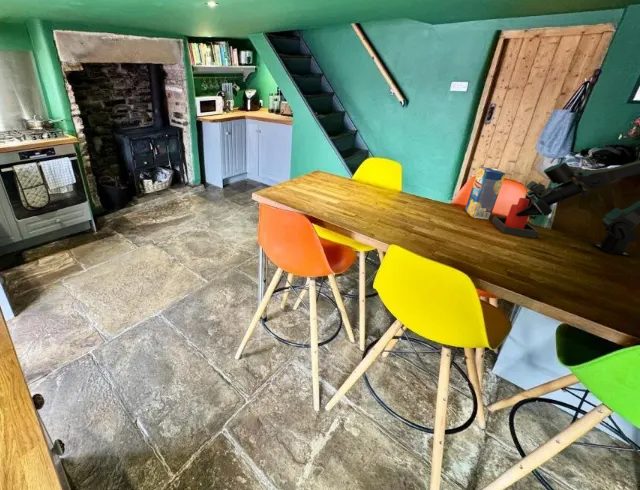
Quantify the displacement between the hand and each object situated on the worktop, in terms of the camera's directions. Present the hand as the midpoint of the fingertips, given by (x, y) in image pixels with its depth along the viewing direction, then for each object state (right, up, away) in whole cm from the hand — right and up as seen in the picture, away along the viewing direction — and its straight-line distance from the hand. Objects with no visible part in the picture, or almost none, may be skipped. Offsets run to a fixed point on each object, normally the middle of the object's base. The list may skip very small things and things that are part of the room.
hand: (514, 212), depth 127 cm
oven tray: (+1, -8, +2) cm, 8 cm away
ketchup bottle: (+1, -7, +2) cm, 7 cm away
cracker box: (-3, -2, +18) cm, 18 cm away
